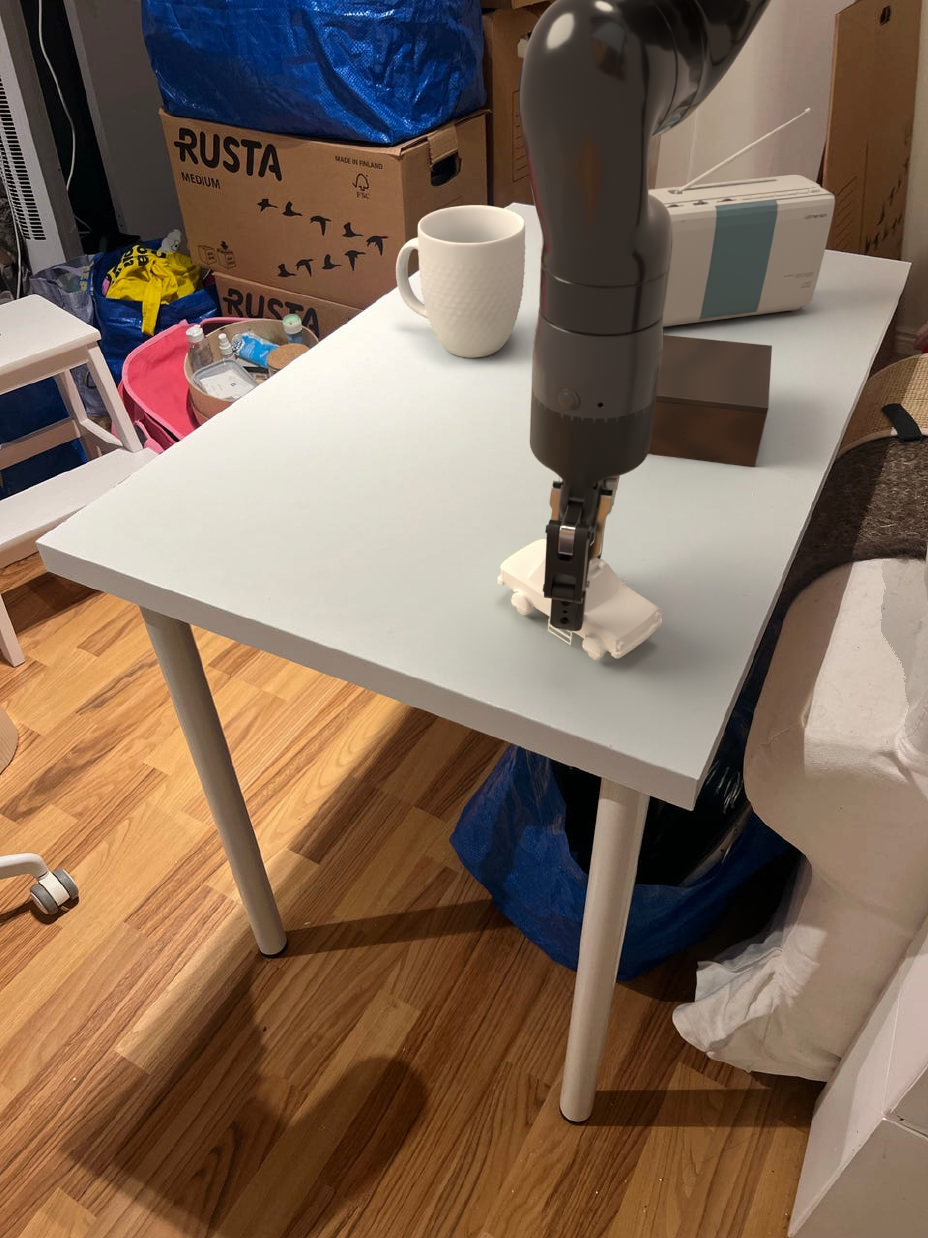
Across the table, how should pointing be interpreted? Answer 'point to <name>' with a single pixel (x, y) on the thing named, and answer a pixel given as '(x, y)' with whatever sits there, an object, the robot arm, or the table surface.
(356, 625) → the table surface
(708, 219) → the radio
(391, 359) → the table surface
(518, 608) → the toy car
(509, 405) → the table surface
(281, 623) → the table surface
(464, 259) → the mug
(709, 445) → the stand
